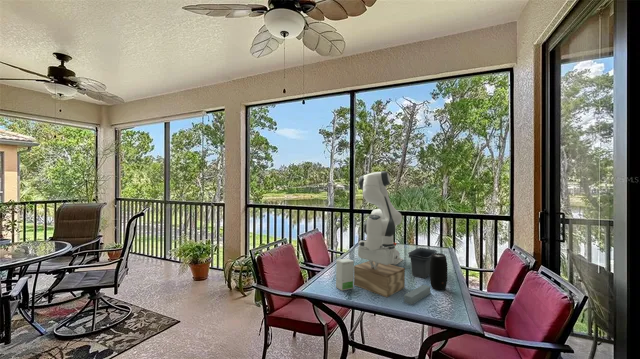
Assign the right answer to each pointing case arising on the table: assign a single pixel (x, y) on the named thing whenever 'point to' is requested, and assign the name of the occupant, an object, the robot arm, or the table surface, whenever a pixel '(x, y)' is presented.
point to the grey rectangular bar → (416, 294)
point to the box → (379, 282)
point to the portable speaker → (438, 271)
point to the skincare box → (344, 274)
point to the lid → (380, 269)
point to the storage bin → (421, 261)
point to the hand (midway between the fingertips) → (373, 269)
